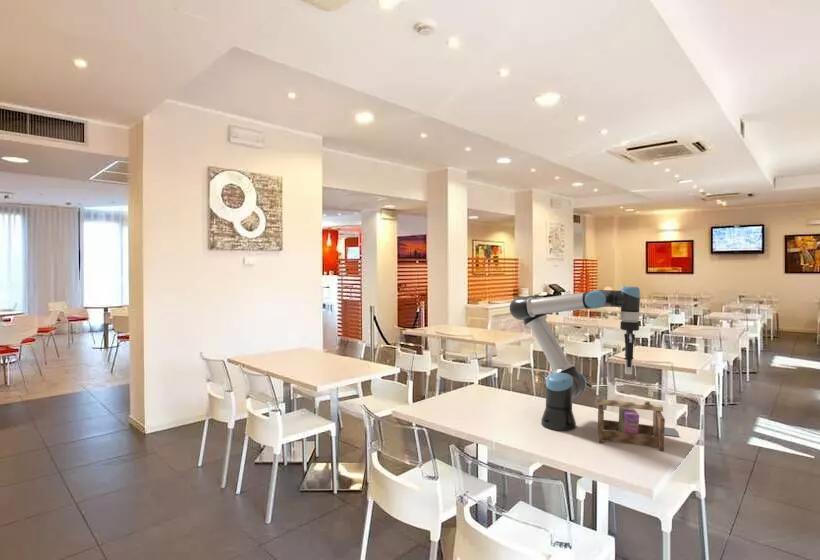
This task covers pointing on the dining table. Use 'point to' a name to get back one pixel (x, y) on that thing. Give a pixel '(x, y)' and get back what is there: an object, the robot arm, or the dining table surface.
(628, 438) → the toolbox
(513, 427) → the dining table surface
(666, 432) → the mat
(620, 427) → the box
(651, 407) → the brown wooden bar
